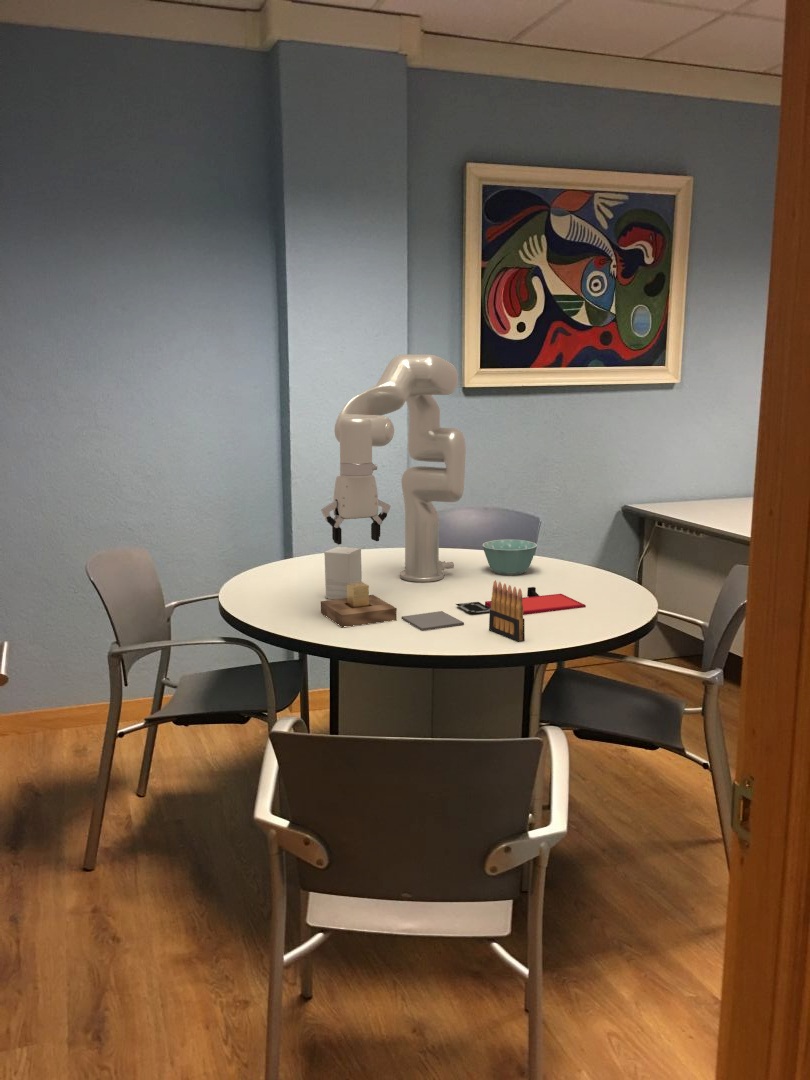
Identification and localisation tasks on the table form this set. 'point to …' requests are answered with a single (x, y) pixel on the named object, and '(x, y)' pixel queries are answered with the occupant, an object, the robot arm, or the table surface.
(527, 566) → the bowl
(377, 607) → the socket block
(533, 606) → the red board with handle
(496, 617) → the ammunition clip
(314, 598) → the table surface
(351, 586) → the wooden block
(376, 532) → the robot arm
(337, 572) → the supplement box
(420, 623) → the rubber mat
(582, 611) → the table surface
